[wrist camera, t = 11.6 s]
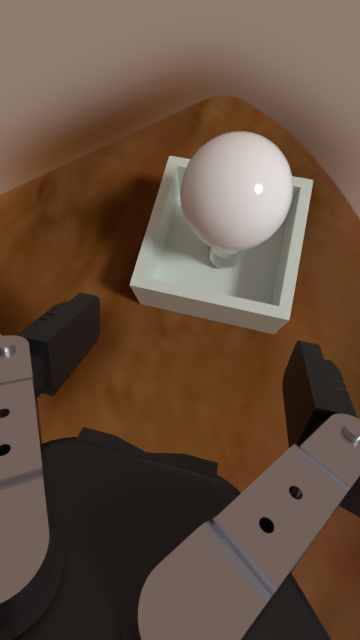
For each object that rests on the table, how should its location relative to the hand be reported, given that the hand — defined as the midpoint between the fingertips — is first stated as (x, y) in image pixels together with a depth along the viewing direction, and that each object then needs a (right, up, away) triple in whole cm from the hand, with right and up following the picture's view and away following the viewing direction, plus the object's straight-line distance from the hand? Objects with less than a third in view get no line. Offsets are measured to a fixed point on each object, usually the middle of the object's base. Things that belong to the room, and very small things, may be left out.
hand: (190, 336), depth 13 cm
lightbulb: (+3, +6, +13) cm, 15 cm away
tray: (+3, +6, +14) cm, 15 cm away
